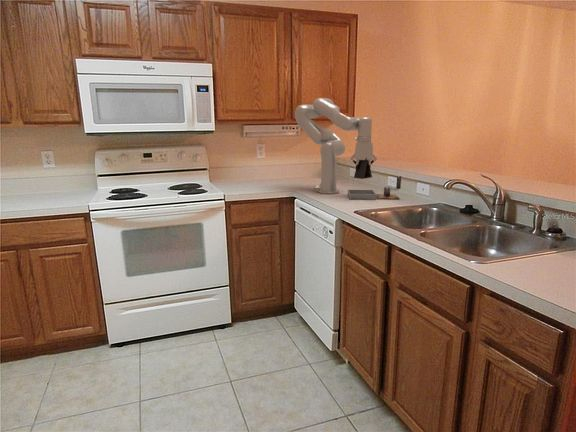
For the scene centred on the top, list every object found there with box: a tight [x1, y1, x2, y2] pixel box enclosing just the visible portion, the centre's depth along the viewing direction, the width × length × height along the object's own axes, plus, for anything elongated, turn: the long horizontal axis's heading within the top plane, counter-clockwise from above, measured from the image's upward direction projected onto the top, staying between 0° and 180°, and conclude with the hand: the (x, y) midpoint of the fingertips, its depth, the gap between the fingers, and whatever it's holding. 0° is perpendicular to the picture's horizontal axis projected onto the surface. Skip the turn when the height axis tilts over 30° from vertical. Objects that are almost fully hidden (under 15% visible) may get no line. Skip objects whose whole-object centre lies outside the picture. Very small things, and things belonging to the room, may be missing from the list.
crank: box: [383, 175, 402, 196], centre depth 224 cm, size 10×4×12 cm, turn 55°
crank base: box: [376, 193, 400, 201], centre depth 227 cm, size 12×12×1 cm
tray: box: [347, 189, 378, 201], centre depth 228 cm, size 15×16×3 cm
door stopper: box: [353, 158, 373, 180], centre depth 224 cm, size 9×6×12 cm, turn 130°
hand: (362, 171), depth 225 cm, fingers closed on door stopper, 5 cm apart
